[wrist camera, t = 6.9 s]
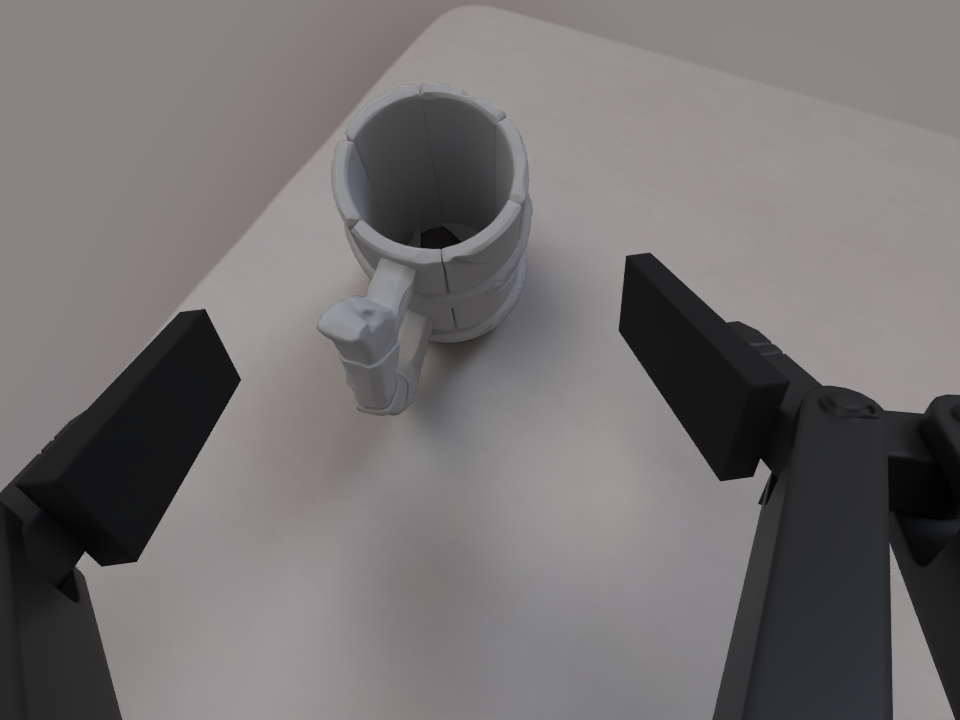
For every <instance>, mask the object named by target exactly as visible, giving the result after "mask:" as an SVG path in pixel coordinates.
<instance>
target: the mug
mask: <svg viewBox="0 0 960 720" xmlns="http://www.w3.org/2000/svg"><path fill="white" fill-rule="evenodd" d="M345 134H346V136H347V140H348V141H347V140H341V141H338V142H337V146H336V148H335V151H334V156H333V160H332V167H331V181H332V189H333V194H334V198H335V202H336V205H337V208H338V210H339V213H340V215H341V217H342V219H343V221H344V222H345V223H344V226H345V232H346V236H347V239H348V241H349V243H350V246H351V249H352V251H353V253H354V255H355V257H356V259H357V261H358V262H359V264H360V266H361V267H362V269H363V270H364V272H365V273H366V274H367V275H368V277H369V278H370V279H371V282H370V285H369V287H368V290H367V293H366V296H365V298H363V297H360V296H352V297H350V298H348V299H346V300H343V301H340V302H338V303H335V304H333V305H331V306H330V307H329V308H328V309H327V310H326V311H325V312H324V313H323V314H322V316H321V318H320V319H319V321H318V324H317V329H318V331H319V332H320V333H322V334H323V335H324V336H326V337H327V338H329V339H331V340H332V341H333V342H334V344H335V345H336V347H337V349H338V350H339V356H340V359H341V361H342V364H343V366H344V368H345V371H346V377H347V384H348V385H349V386H350V388H351V389H352V390H353V391H354V395H353V397H354V403H355V406H356V408H357V410H358V411H360V412H363V413H368V414H373V415H379V416H383V415H398V414H400V413H402V412H403V411H404V410H405V409H407V408H408V407H409V406H410V405H411V404H412V402H413V399H414V396H415V393H416V389H417V386H418V383H419V378H420V373H421V368H422V364H423V360H424V356H425V352H426V348H427V345H428V341H429V340H430V341H435V342H448V343H453V342H461V341H465V340H470V339H473V338H476V337H478V336H481V335H483V334H485V333H487V332H488V331H490V330H492V329H494V328H495V327H496V326H497V325H498V324H499V323H500V322H501V321H503V320H504V318H505V317H506V316H507V315H508V314H509V313H510V311H511V310H512V309H513V307H514V305H515V303H516V302H517V300H518V297H519V295H520V292H521V290H522V287H523V283H524V276H525V263H526V254H525V252H524V251H525V248H526V245H527V241H528V237H529V233H530V226H531V216H532V212H533V206H532V202H531V199H530V197H529V193H528V186H529V171H528V160H527V154H526V150H525V146H524V143H523V141H522V138H521V135H520V133H519V131H518V129H517V128H516V126H515V124H514V123H513V121H512V120H511V119H510V118H509V117H507V118H506V113H505V112H503V111H502V110H500V109H499V108H497V107H496V106H495V105H494V104H493V103H492V102H491V101H490V100H488V99H486V98H473V97H469V95H468V94H467V93H466V92H465V91H463V90H458V89H455V88H452V87H450V86H448V85H445V84H428V83H425V84H421V85H420V90H419V87H418V85H417V84H412V85H407V86H403V87H399V88H396V89H394V90H391V91H389V92H387V93H385V94H383V95H381V96H379V97H378V98H376V99H374V100H373V101H371V102H370V103H368V104H367V105H366V106H365V107H363V108H362V109H361V110H360V111H359V112H358V113H357V114H356V115H355V117H354V118H353V119H352V120H351V122H350V124H349V126H348V128H347V130H346V132H345ZM442 226H443V227H445V228H446V229H447V230H448V231H449V232H451V233H452V234H453V235H454V236H456V237H457V238H458V239H459V240H460V241H462V243H459V244H456V245H453V246H449V247H446V248H443V249H442V250H440V249H425V248H420V241H421V233H423V232H425V231H427V230H429V229H432V228H438V227H442ZM478 232H479V233H478ZM407 245H408V246H407Z"/></svg>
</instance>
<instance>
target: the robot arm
mask: <svg viewBox="0 0 960 720" xmlns="http://www.w3.org/2000/svg"><path fill="white" fill-rule="evenodd" d="M619 332H620V333H621V335H622V336H623V338H624V339H625V341H626V342H627V344H628V345H629V347H630V348H631V350H632V351H633V353H634V354H635V356H636V357H637V359H638V360H639V362H640V363H641V365H642V366H643V368H644V369H645V371H646V372H647V373H648V375H649V376H650V378H651V379H652V381H653V382H654V384H655V385H656V387H657V388H658V390H659V391H660V393H661V394H662V396H663V397H664V399H665V400H666V402H667V403H668V405H669V406H670V408H671V409H672V411H673V412H674V414H675V415H676V417H677V418H678V420H679V421H680V423H681V424H682V425H683V427H684V428H685V430H686V431H687V433H688V434H689V436H690V437H691V439H692V440H693V442H694V443H695V445H696V446H697V448H698V449H699V451H700V452H701V454H702V455H703V457H704V458H705V460H706V461H707V463H708V464H709V466H710V467H711V469H712V470H713V472H714V473H715V475H716V476H717V477H718V479H719V480H720V481H726V480H733V479H740V478H748V477H753V476H754V473H755V471H756V468H757V466H758V463H759V460H760V458H761V459H762V460H763V462H764V463H765V464H766V465H767V466H768V468H769V469H770V470H771V471H772V472H771V474H770V477H769V479H768V481H767V484H766V486H765V489H764V491H763V493H762V496H761V498H760V500H759V503H758V504H760V505H762V507H761V512H760V516H759V520H758V525H757V529H756V533H755V537H754V542H753V546H752V550H751V555H750V559H749V563H748V568H747V572H746V576H745V581H744V585H743V589H742V594H741V598H740V602H739V607H738V611H737V615H736V620H735V624H734V628H733V633H732V637H731V641H730V646H729V650H728V654H727V659H726V663H725V667H724V672H723V676H722V680H721V685H720V689H719V693H718V698H717V702H716V706H715V711H714V715H713V719H712V720H893V699H892V648H891V596H890V545H889V542H890V544H891V547H892V550H893V552H894V555H895V558H896V560H897V563H898V566H899V569H900V571H901V574H902V577H903V579H904V582H905V585H906V588H907V590H908V593H909V596H910V598H911V601H912V604H913V607H914V609H915V612H916V615H917V617H918V620H919V623H920V625H921V628H922V631H923V634H924V636H925V639H926V642H927V644H928V647H929V650H930V653H931V655H932V658H933V661H934V663H935V666H936V669H937V672H938V674H939V677H940V680H941V682H942V685H943V688H944V690H945V693H946V696H947V699H948V701H949V704H950V707H951V709H952V712H953V715H954V718H955V720H960V395H943V396H939V397H936V398H935V399H934V400H933V401H932V402H931V403H930V405H929V407H928V408H927V410H926V411H925V413H924V414H919V413H908V412H896V411H884V409H883V408H881V407H880V406H879V405H878V404H877V403H876V402H875V401H874V400H872V399H870V398H868V397H867V396H865V395H863V394H861V393H859V392H856V391H853V390H850V389H847V388H842V387H835V386H822V385H821V384H820V383H819V382H818V381H816V380H815V379H814V378H813V377H812V376H811V375H809V374H808V373H807V372H806V371H805V370H804V369H802V368H801V367H800V366H799V365H798V364H797V363H795V362H794V361H793V360H792V359H791V358H790V357H788V356H787V355H786V354H783V353H782V351H781V350H780V349H779V348H778V347H777V346H775V345H774V344H771V341H770V340H768V339H767V338H766V337H765V336H764V335H763V334H761V333H760V332H759V331H758V330H756V329H754V328H752V327H750V326H747V325H745V324H743V323H741V322H739V321H735V322H728V323H726V322H725V321H724V320H723V319H722V318H721V317H720V316H719V315H717V314H716V313H715V312H714V311H713V310H712V309H711V308H710V307H709V306H708V305H707V304H705V303H704V302H703V301H702V300H701V299H700V298H699V297H698V296H697V295H696V294H695V293H694V292H692V291H691V290H690V289H689V288H688V287H687V286H686V285H685V284H684V283H683V282H682V281H680V280H679V279H678V278H677V277H676V276H675V275H674V274H673V273H672V272H671V271H670V270H668V269H667V268H666V267H665V266H664V265H663V264H662V263H661V262H660V261H659V260H658V259H657V258H655V257H654V256H653V255H652V254H651V253H645V254H637V255H629V256H626V263H625V273H624V283H623V293H622V303H621V313H620V323H619ZM240 381H241V379H240V377H239V375H238V373H237V371H236V369H235V367H234V365H233V363H232V361H231V359H230V357H229V355H228V353H227V351H226V349H225V347H224V345H223V343H222V341H221V339H220V338H219V336H218V334H217V332H216V330H215V328H214V326H213V324H212V322H211V320H210V318H209V316H208V314H207V312H206V310H205V309H202V310H194V311H186V312H180V313H179V314H178V315H177V316H176V317H175V318H174V319H173V320H172V321H171V322H170V323H169V324H168V325H167V326H166V327H165V328H164V329H163V330H162V331H161V333H160V334H159V335H158V336H157V337H156V338H155V339H154V340H153V341H152V342H151V343H150V344H149V345H148V346H147V347H146V348H145V349H144V350H143V351H142V352H141V353H140V354H139V356H138V357H137V358H136V359H135V360H134V361H133V362H132V363H131V364H130V365H129V366H128V367H127V368H126V369H125V370H124V371H123V372H122V373H121V374H120V375H119V376H118V378H117V379H116V380H115V381H114V382H113V383H112V384H111V385H110V386H109V387H108V388H107V389H106V390H105V391H104V392H103V393H102V394H101V395H100V396H99V397H98V398H97V399H96V401H95V402H94V403H93V404H92V405H91V406H90V407H89V408H88V409H87V410H86V411H84V412H83V413H81V414H80V415H78V416H77V417H75V418H74V419H73V420H71V421H70V422H69V423H68V424H67V425H66V426H65V427H64V428H63V429H62V430H61V431H60V432H59V433H58V434H57V435H56V436H55V437H54V440H53V441H50V442H49V443H48V444H47V445H46V446H45V447H44V448H43V449H42V450H41V451H42V453H41V454H37V455H36V457H35V458H34V459H33V460H32V461H31V462H30V463H29V464H28V465H27V466H26V467H25V468H24V469H23V470H22V471H21V472H20V473H19V474H18V475H17V476H16V477H15V478H14V479H13V480H12V481H11V482H10V483H9V484H8V485H7V486H6V487H5V488H4V489H3V490H2V492H1V493H0V720H122V718H121V714H120V710H119V706H118V702H117V698H116V695H115V691H114V687H113V683H112V679H111V676H110V672H109V668H108V664H107V660H106V656H105V653H104V649H103V645H102V641H101V637H100V634H99V630H98V626H97V622H96V618H95V614H94V611H93V607H92V603H91V599H90V595H89V592H88V588H87V584H86V580H85V576H84V575H83V574H82V573H81V571H80V570H78V569H77V568H76V567H75V565H76V564H77V562H78V561H79V559H80V558H81V556H82V555H83V554H84V552H85V551H86V552H87V553H88V554H89V555H90V556H91V557H92V558H93V559H94V560H95V561H96V562H97V563H98V564H99V565H100V566H102V567H103V566H110V565H117V564H124V563H132V562H137V560H138V559H139V557H140V555H141V553H142V552H143V550H144V548H145V547H146V545H147V543H148V541H149V540H150V538H151V536H152V534H153V533H154V531H155V529H156V527H157V526H158V524H159V522H160V520H161V519H162V517H163V515H164V513H165V512H166V510H167V508H168V506H169V505H170V503H171V501H172V499H173V498H174V496H175V494H176V492H177V491H178V489H179V487H180V485H181V484H182V482H183V480H184V479H185V477H186V475H187V473H188V472H189V470H190V468H191V466H192V465H193V463H194V461H195V459H196V458H197V456H198V454H199V452H200V451H201V449H202V447H203V445H204V444H205V442H206V440H207V438H208V437H209V435H210V433H211V431H212V430H213V428H214V426H215V424H216V423H217V421H218V419H219V417H220V416H221V414H222V412H223V411H224V409H225V407H226V405H227V404H228V402H229V400H230V398H231V397H232V395H233V393H234V391H235V390H236V388H237V386H238V384H239V383H240Z"/></svg>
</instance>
